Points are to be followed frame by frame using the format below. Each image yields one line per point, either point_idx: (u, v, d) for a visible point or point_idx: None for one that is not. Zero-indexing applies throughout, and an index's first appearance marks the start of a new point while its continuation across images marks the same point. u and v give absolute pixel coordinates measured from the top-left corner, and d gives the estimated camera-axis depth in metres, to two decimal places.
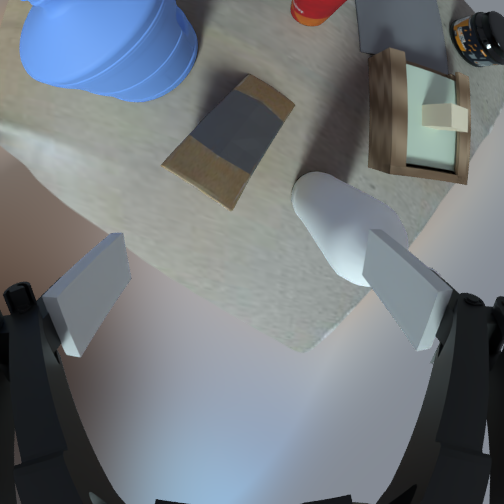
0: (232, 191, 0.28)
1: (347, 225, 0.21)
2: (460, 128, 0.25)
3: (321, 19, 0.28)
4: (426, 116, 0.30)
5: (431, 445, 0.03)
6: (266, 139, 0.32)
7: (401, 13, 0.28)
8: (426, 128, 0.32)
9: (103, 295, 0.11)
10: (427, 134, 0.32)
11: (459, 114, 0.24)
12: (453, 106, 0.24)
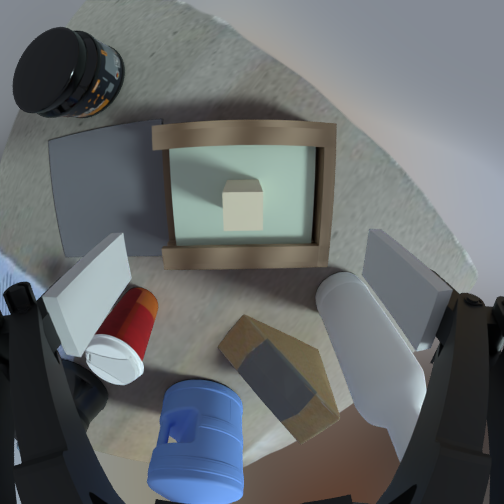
0: (326, 413, 0.33)
1: None
2: (260, 210, 0.22)
3: (151, 311, 0.37)
4: None
5: (431, 445, 0.03)
6: (284, 366, 0.37)
7: (95, 198, 0.33)
8: None
9: (103, 295, 0.11)
10: (269, 199, 0.29)
11: (237, 213, 0.22)
12: (227, 226, 0.23)
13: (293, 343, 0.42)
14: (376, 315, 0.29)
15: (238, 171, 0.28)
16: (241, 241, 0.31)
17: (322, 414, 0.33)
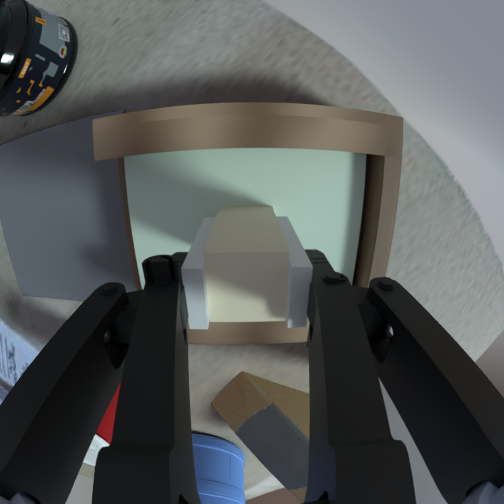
0: None
1: None
2: (282, 286, 0.11)
3: None
4: None
5: (327, 447, 0.04)
6: (294, 437, 0.26)
7: (45, 224, 0.22)
8: None
9: None
10: None
11: (236, 292, 0.11)
12: (217, 314, 0.12)
13: (305, 401, 0.31)
14: None
15: (238, 192, 0.17)
16: None
17: None
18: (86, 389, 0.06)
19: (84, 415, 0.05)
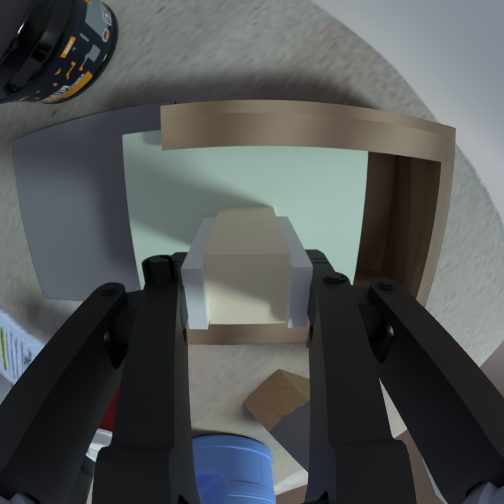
0: None
1: None
2: (283, 288, 0.11)
3: None
4: None
5: (327, 447, 0.04)
6: None
7: (76, 222, 0.22)
8: None
9: None
10: None
11: (236, 294, 0.11)
12: (217, 316, 0.11)
13: None
14: None
15: (238, 193, 0.16)
16: None
17: None
18: (86, 389, 0.06)
19: (83, 415, 0.05)
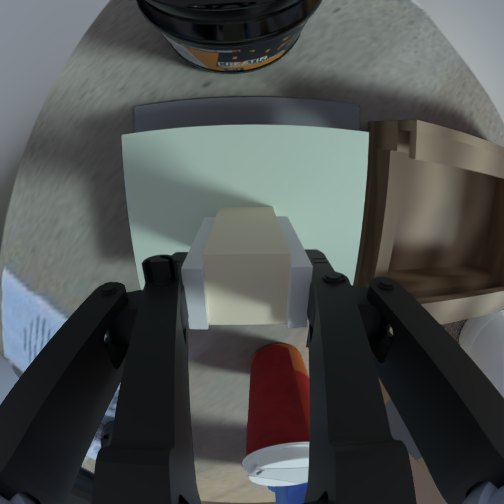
0: None
1: None
2: (283, 288, 0.11)
3: None
4: None
5: (327, 447, 0.04)
6: None
7: None
8: None
9: None
10: None
11: (235, 294, 0.11)
12: (217, 317, 0.11)
13: None
14: None
15: (238, 192, 0.16)
16: None
17: None
18: (86, 389, 0.06)
19: (84, 415, 0.05)
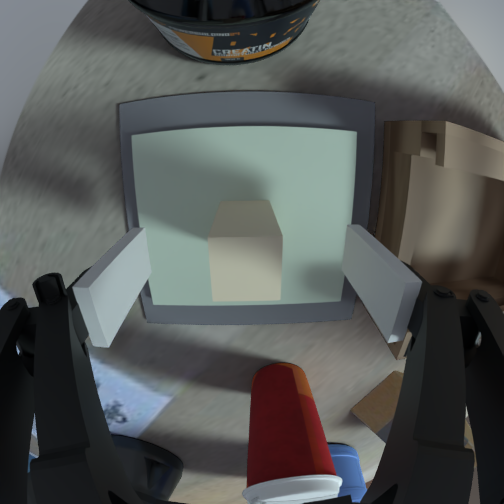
0: None
1: None
2: (277, 267, 0.13)
3: None
4: None
5: (409, 443, 0.04)
6: None
7: None
8: None
9: (128, 287, 0.12)
10: (285, 231, 0.19)
11: (236, 273, 0.13)
12: (219, 294, 0.13)
13: None
14: None
15: (238, 187, 0.18)
16: None
17: None
18: (11, 395, 0.05)
19: (16, 421, 0.04)
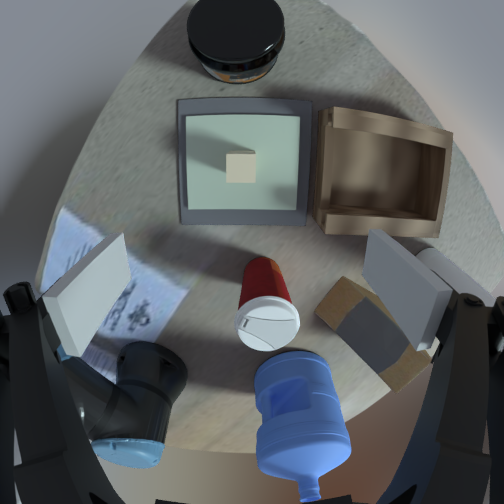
0: (420, 357, 0.36)
1: None
2: (254, 167, 0.30)
3: None
4: None
5: (431, 445, 0.03)
6: (383, 319, 0.40)
7: None
8: (256, 167, 0.36)
9: (103, 295, 0.11)
10: (263, 166, 0.36)
11: (237, 169, 0.30)
12: (229, 179, 0.30)
13: (381, 301, 0.45)
14: (469, 276, 0.32)
15: (239, 144, 0.35)
16: (240, 199, 0.38)
17: (417, 359, 0.36)
18: None
19: None
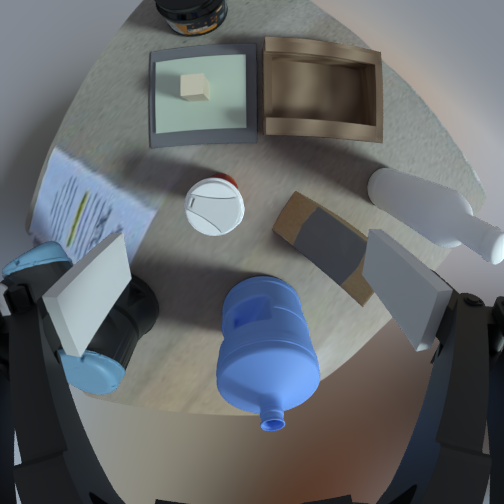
0: None
1: (438, 241, 0.29)
2: (201, 82, 0.33)
3: (237, 187, 0.44)
4: (199, 100, 0.39)
5: (431, 445, 0.03)
6: (337, 225, 0.43)
7: None
8: (210, 95, 0.40)
9: (103, 295, 0.11)
10: (216, 94, 0.40)
11: (188, 85, 0.33)
12: (183, 93, 0.34)
13: (339, 217, 0.48)
14: (421, 178, 0.36)
15: None
16: (198, 121, 0.42)
17: None
18: None
19: None
